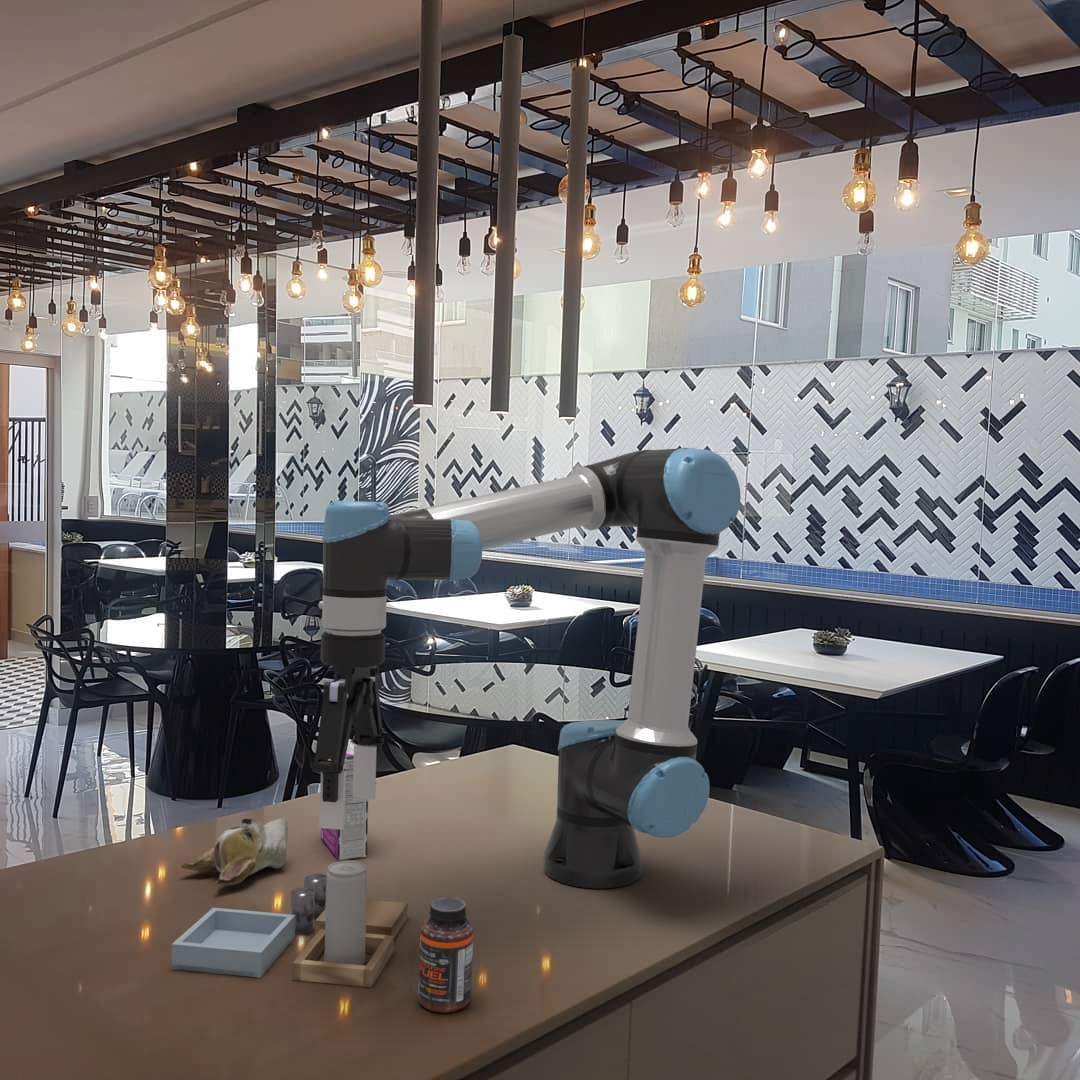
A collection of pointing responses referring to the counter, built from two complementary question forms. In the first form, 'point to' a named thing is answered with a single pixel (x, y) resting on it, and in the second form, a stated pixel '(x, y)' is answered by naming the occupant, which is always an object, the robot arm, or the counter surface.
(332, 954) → the beverage can
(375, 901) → the board
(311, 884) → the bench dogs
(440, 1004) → the supplement bottle
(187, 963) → the tray
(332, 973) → the collar
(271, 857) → the ceramic sculpture
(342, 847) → the candy bar box
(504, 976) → the counter surface
